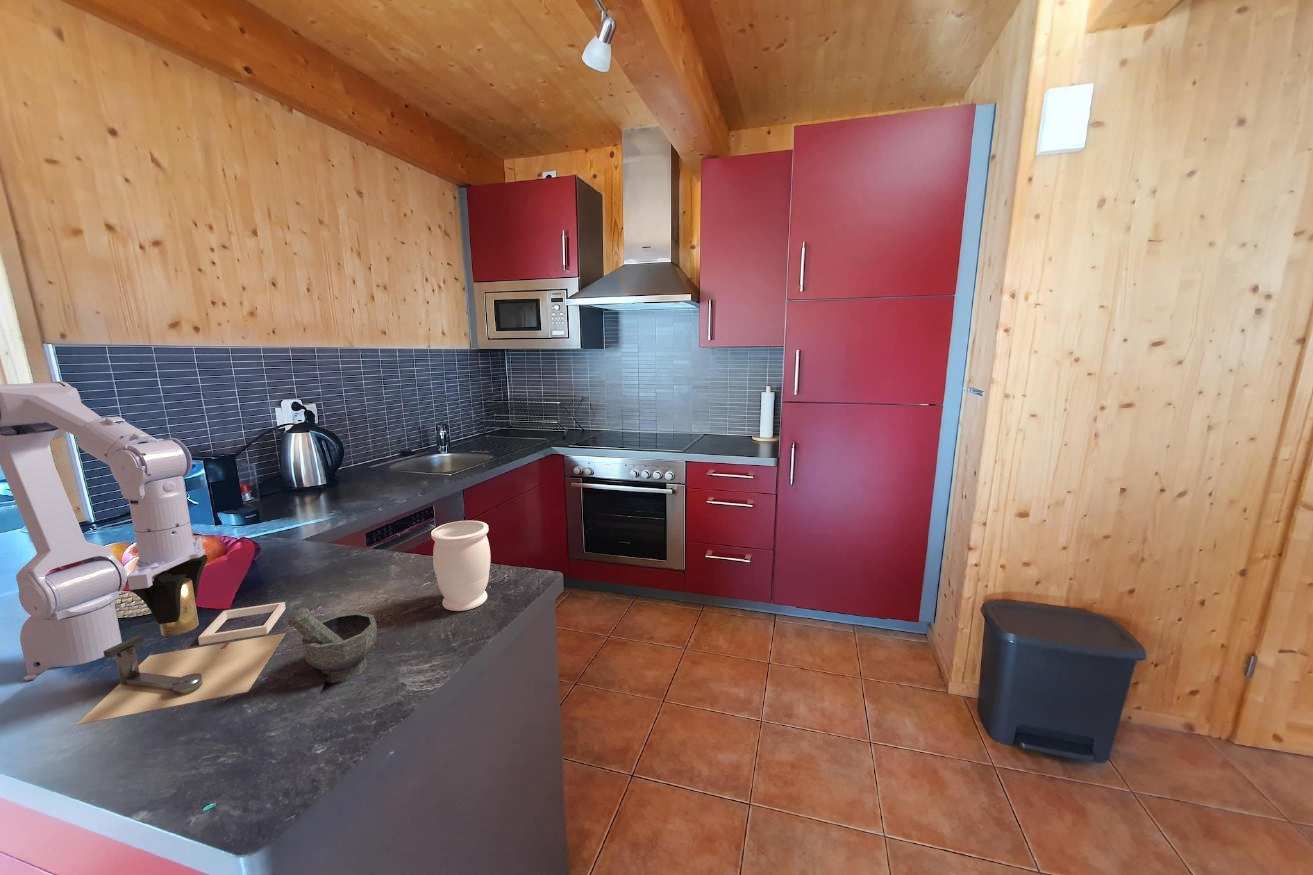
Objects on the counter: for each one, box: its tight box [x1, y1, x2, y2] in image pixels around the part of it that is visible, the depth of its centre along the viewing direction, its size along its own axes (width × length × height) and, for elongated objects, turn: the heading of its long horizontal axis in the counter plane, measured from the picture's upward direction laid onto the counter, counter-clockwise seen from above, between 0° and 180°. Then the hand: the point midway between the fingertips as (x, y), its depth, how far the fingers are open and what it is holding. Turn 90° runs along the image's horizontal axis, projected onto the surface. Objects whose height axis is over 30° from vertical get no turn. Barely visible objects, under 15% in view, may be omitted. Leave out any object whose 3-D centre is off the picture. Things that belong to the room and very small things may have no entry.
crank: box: [103, 635, 203, 695], centre depth 70 cm, size 12×4×6 cm, turn 81°
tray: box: [197, 601, 286, 646], centre depth 87 cm, size 9×9×2 cm
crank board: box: [75, 632, 287, 726], centre depth 74 cm, size 18×16×1 cm
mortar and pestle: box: [286, 607, 378, 684], centre depth 75 cm, size 11×9×12 cm
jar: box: [430, 520, 491, 612], centre depth 97 cm, size 11×10×15 cm
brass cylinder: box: [159, 578, 200, 637], centre depth 73 cm, size 4×4×7 cm
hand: (177, 614), depth 73 cm, fingers closed on brass cylinder, 4 cm apart
